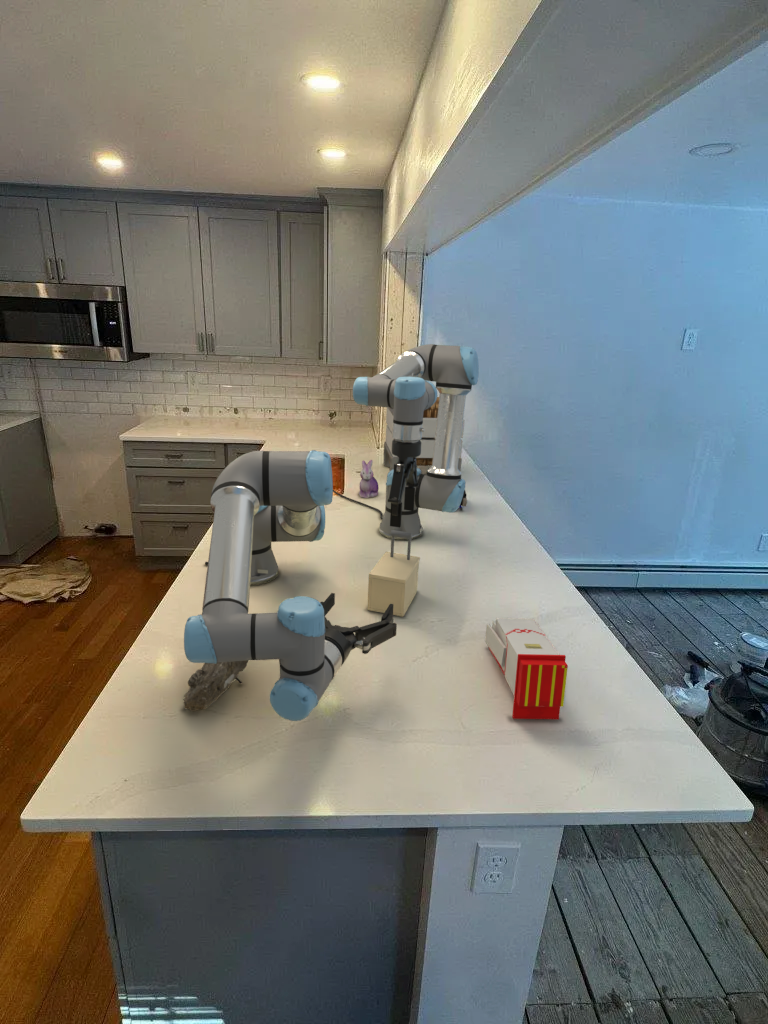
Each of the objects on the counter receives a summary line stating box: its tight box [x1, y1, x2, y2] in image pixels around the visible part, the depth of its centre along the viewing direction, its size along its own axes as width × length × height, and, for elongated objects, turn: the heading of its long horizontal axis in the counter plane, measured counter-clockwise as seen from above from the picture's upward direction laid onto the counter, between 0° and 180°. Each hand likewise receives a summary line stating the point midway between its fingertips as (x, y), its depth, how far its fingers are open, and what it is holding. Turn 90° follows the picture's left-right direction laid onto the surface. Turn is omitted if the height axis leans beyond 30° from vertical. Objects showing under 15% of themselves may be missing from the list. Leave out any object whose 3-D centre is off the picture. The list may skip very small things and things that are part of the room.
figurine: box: [358, 459, 380, 499], centre depth 237 cm, size 9×10×15 cm
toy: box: [484, 617, 569, 720], centre depth 122 cm, size 12×13×30 cm
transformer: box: [383, 396, 465, 473], centre depth 268 cm, size 34×33×41 cm
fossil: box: [182, 660, 250, 712], centre depth 117 cm, size 22×10×15 cm
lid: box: [368, 530, 421, 583], centre depth 150 cm, size 15×10×9 cm, turn 163°
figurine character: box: [459, 489, 468, 511], centre depth 230 cm, size 7×8×15 cm
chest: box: [367, 561, 420, 618], centre depth 152 cm, size 15×10×10 cm
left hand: (362, 603), depth 125 cm, fingers open, 13 cm apart
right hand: (402, 517), depth 151 cm, fingers open, 13 cm apart
